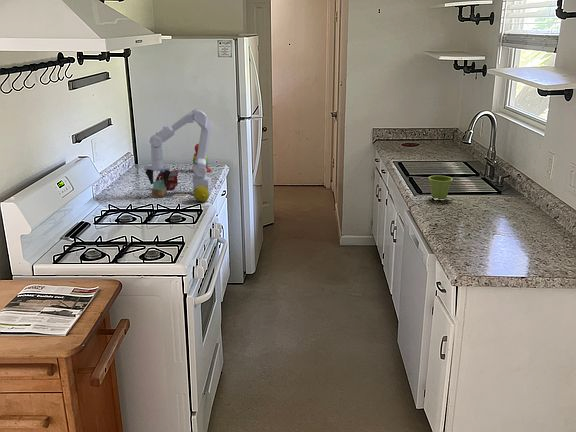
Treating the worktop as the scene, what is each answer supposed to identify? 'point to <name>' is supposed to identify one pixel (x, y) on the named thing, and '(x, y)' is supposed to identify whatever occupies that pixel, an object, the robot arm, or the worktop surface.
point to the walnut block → (159, 193)
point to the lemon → (201, 193)
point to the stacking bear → (196, 157)
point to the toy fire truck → (169, 179)
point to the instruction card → (181, 195)
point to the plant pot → (440, 186)
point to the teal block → (158, 185)
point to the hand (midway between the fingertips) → (158, 184)
